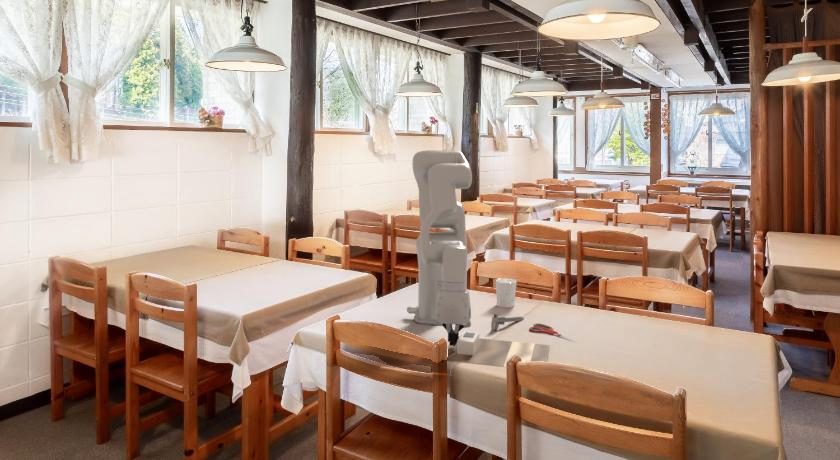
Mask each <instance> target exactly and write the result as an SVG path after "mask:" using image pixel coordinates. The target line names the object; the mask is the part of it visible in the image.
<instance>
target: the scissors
mask: <svg viewBox="0 0 840 460" xmlns="http://www.w3.org/2000/svg"><path fill="white" fill-rule="evenodd" d="M528 331H529V332H531V333H535V334H537V333H538V334H545V335H546V334H547V335H551V336H555V337H558V338H561V339H563V340H566V341H569V342H572V343H575V344H577V341H574V340H572V339H571V338H568V337H567V336H564V335H561V334H559V332H557V331H555V330H554V327H552V326H550V325H547V324H543V323H534V324H533V326H531V327H529V328H528Z"/></svg>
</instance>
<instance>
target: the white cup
mask: <svg viewBox="0 0 840 460" xmlns="http://www.w3.org/2000/svg"><path fill="white" fill-rule="evenodd" d="M516 290H517V280H516V279H515V278H507V277H506V278H497V279H496V280H495V294H496V295H495V296H496V306H497V307H499V308H502V309H503V308H505V309H506V308H507V309H508V308H513V307H514V306H515V299H516Z"/></svg>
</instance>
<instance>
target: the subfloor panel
mask: <svg viewBox="0 0 840 460" xmlns="http://www.w3.org/2000/svg"><path fill="white" fill-rule="evenodd" d="M460 336H461V335H459V337H460ZM447 348H448V357H447V361H448V362H454V363H465V364H471V365H481V366H482V365H484V366H493V367H500V368H501V367H502V368H507V367H506V362H507V361H508V360H509V359H510V358H511V356H513V355H519V356H520V357H521V358H522V362H526V361H544V362H547V363H548V357H549V356H548V355H549V349H550V344H541V343H532V342H531V343H530V342H522V341H510V340H499V339H490V338H489V339H487V338H482V337H481V338H480V337H479V346H478V348H477V350H476V352H475V353H474V355H466V354H457V343H456V345H455V346H453V345H451V346H450V344H448V346H447ZM447 361H446V362H447Z"/></svg>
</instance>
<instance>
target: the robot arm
mask: <svg viewBox="0 0 840 460" xmlns="http://www.w3.org/2000/svg"><path fill="white" fill-rule="evenodd" d="M411 164H412V173H413V176H414V179H415V181H416V185H417V188H418V208H419V210H418V211H419V223H420V225H421V226H420V230H419V235H418V236H417V238H416V241H415V242H416V243H415V245H416V253H417V254H416V255H417V265H418V292H417V293H418V294H417V295H418V301H417V303H418V304H417V306H414V307H413V306H407V308H406V312H407V313H408V314H411V315H412V314H414V316H413V321H414V322H415V323H418V324H419V325H426V326H427V325H428V326H437V325H438V326H441V327H443V329H445V330H446V332H447V342H448V343H449V345H450V346H451V345H453V346H455V345H456V343H457V340H458V339H459V336H460V335H459V334H460V333H459V332H461V330H463V329H467V328H470V327H471V326H472V323H471V317H472V312H471V311H472V309H471V308H472V307H471V298H470V291H469V290H468V289H467V282H468V280H467V279H468V277H467V275H468V274H467V273H468V249H467V233H466V232H467V231H466V213H465V209H464V206H463V204H462V203H461V202H459V201H457V194H456V190H467V189H469V188H470V187H471V185H472V183H473V174H472V168H471V166H470V164H469V162H468V160H467V159H466V157H465V155H464V154H463V152H462V151H459V150H439V149H438V150H437V149H435V150H421V151H417V152H416V153H414V155H413V157H412V163H411ZM431 229H450V231H446V232H445V231H435V232H434V231H433V232H430V231H431ZM453 325H455V326H454V328H453Z"/></svg>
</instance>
